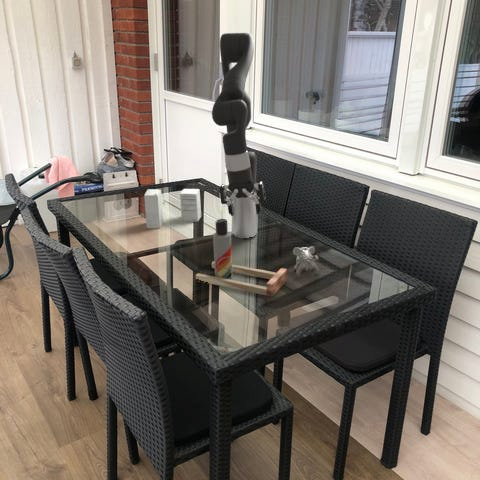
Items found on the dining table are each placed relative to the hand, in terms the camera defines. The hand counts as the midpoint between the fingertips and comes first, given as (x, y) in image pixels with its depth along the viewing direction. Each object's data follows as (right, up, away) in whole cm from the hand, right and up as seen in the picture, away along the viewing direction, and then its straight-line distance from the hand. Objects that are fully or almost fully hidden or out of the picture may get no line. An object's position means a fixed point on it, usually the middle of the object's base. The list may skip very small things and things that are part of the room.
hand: (245, 214), depth 163 cm
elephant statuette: (+20, -18, +8) cm, 28 cm away
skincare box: (-38, -2, +51) cm, 64 cm away
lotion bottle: (-7, -21, +4) cm, 22 cm away
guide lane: (-1, -21, +1) cm, 21 cm away
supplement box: (-23, +1, +58) cm, 62 cm away
